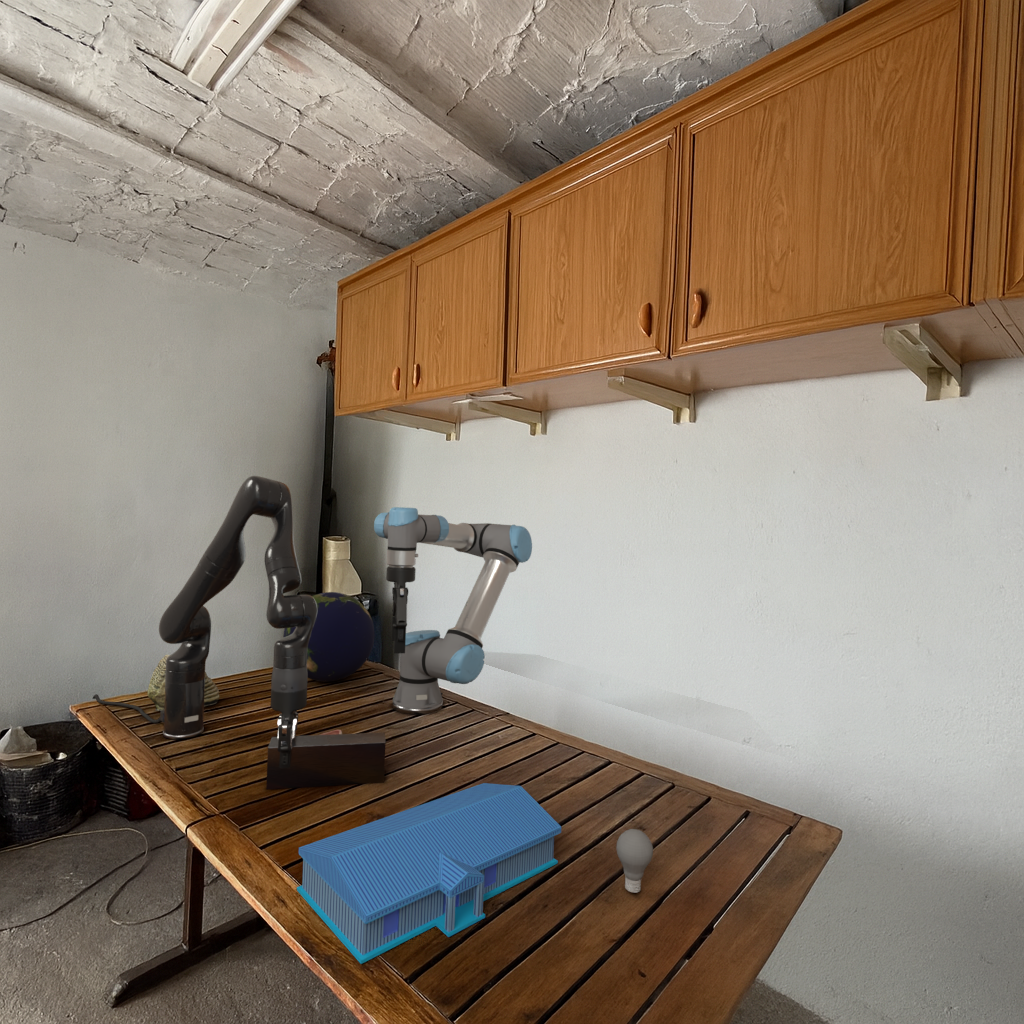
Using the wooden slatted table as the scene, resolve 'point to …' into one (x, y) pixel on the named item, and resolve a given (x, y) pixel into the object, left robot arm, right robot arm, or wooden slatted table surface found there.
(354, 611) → the globe
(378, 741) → the box
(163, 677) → the fossil
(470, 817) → the model building
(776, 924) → the wooden slatted table surface
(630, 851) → the light bulb
